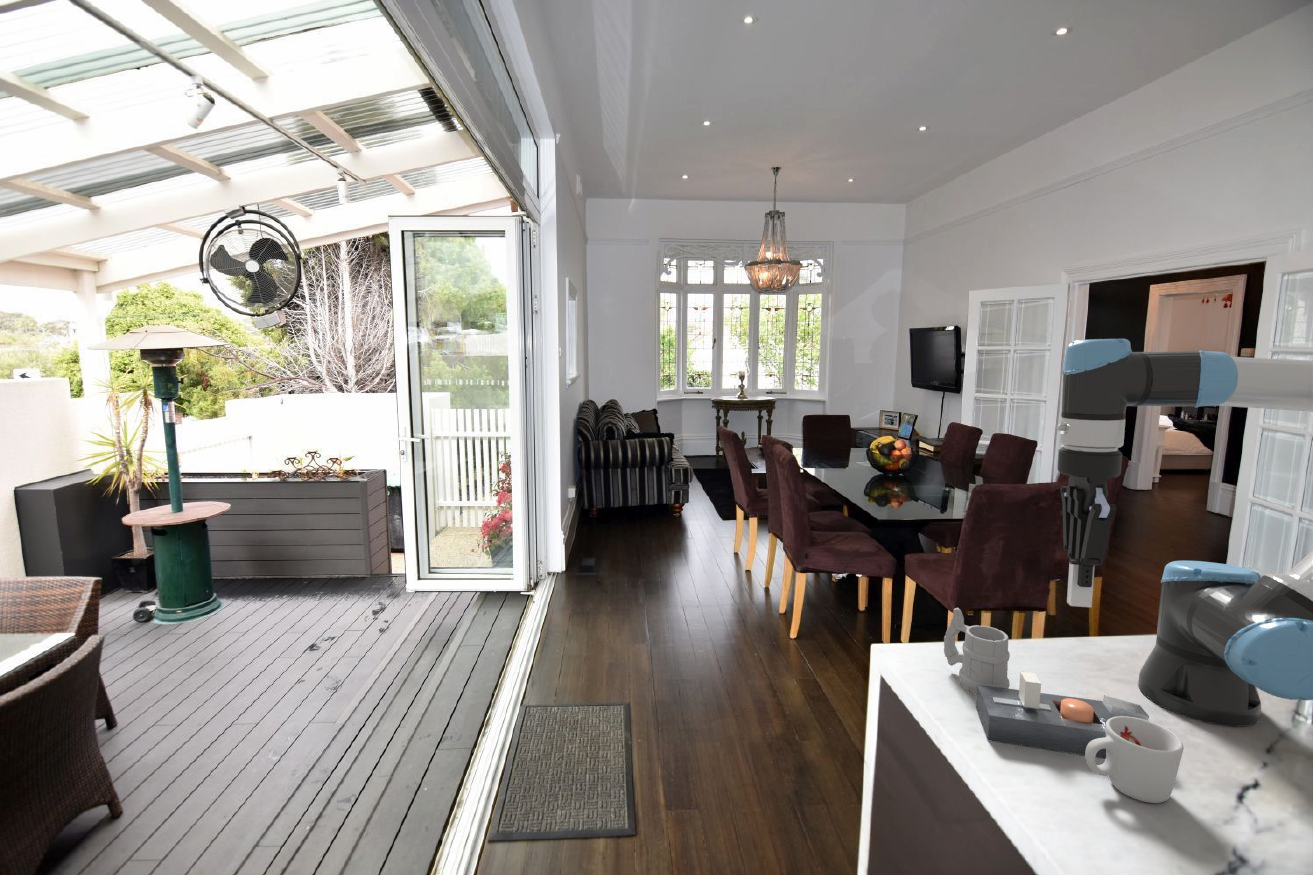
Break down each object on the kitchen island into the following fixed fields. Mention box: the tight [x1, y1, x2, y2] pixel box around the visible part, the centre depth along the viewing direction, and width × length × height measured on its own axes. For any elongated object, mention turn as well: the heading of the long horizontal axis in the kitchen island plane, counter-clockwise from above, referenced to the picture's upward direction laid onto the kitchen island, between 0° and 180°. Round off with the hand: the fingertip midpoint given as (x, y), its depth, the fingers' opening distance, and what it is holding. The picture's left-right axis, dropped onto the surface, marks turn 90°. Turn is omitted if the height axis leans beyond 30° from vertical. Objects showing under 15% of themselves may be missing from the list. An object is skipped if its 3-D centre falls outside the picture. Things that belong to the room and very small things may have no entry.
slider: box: [1018, 671, 1042, 709], centre depth 93 cm, size 2×3×4 cm, turn 163°
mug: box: [943, 607, 1010, 697], centre depth 107 cm, size 8×12×12 cm, turn 26°
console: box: [975, 684, 1119, 760], centre depth 93 cm, size 21×9×5 cm, turn 73°
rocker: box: [1101, 695, 1150, 721], centre depth 90 cm, size 5×3×1 cm, turn 73°
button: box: [1060, 698, 1094, 723], centre depth 92 cm, size 4×4×5 cm
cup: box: [1084, 716, 1184, 804], centre depth 81 cm, size 11×8×8 cm
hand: (1079, 604), depth 92 cm, fingers closed
